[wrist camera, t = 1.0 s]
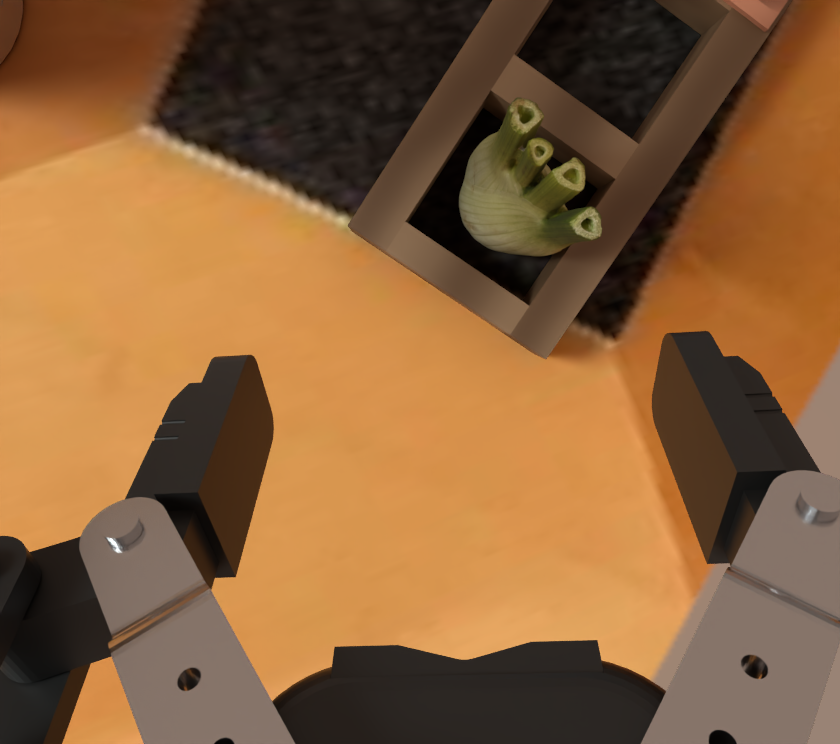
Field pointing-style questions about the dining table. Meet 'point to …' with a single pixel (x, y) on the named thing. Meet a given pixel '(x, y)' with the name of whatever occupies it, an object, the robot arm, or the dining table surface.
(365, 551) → the dining table surface
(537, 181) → the fennel bulb
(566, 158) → the brown flat frame piece
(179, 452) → the robot arm
